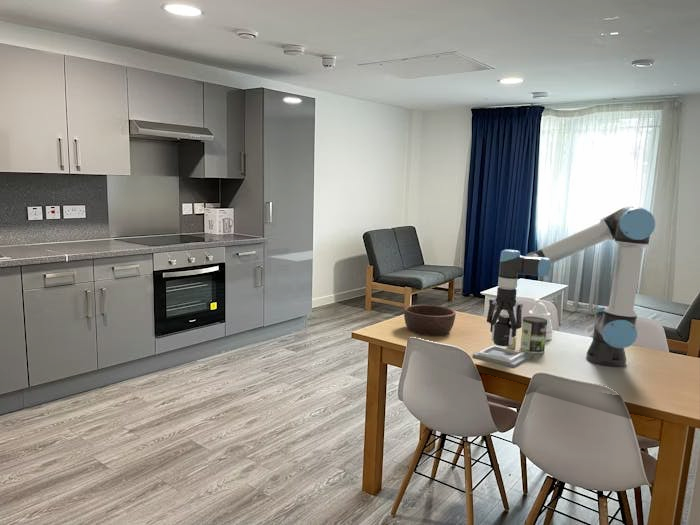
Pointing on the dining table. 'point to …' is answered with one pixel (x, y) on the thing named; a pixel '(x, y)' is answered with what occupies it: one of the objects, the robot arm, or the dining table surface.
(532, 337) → the coffee can
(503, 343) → the supplement bottle
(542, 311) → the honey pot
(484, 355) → the board
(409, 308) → the wooden bowl
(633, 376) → the dining table surface
